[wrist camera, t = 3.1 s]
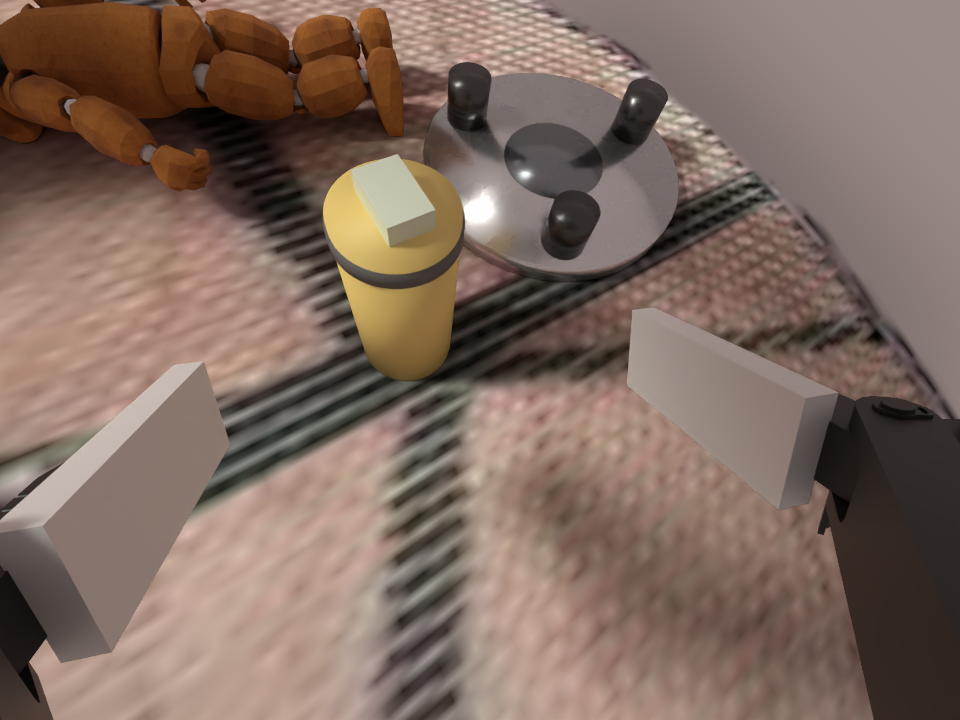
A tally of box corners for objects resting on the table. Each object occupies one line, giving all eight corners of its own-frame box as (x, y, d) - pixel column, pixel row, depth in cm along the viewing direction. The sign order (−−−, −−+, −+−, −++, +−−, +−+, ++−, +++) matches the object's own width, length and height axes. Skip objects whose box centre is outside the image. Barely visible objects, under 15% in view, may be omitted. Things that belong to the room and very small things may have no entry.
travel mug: (347, 324, 26) (289, 161, 15) (425, 289, 28) (424, 118, 17) (387, 398, 25) (354, 276, 14) (468, 357, 26) (496, 217, 15)
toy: (378, 33, 39) (-44, 27, 32) (373, -67, 33) (-152, -101, 26) (418, 213, 32) (-114, 254, 25) (421, 129, 26) (-287, 153, 19)
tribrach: (379, 130, 33) (372, 69, 29) (575, 68, 38) (593, 9, 34) (510, 325, 27) (525, 285, 23) (717, 222, 33) (759, 174, 28)
